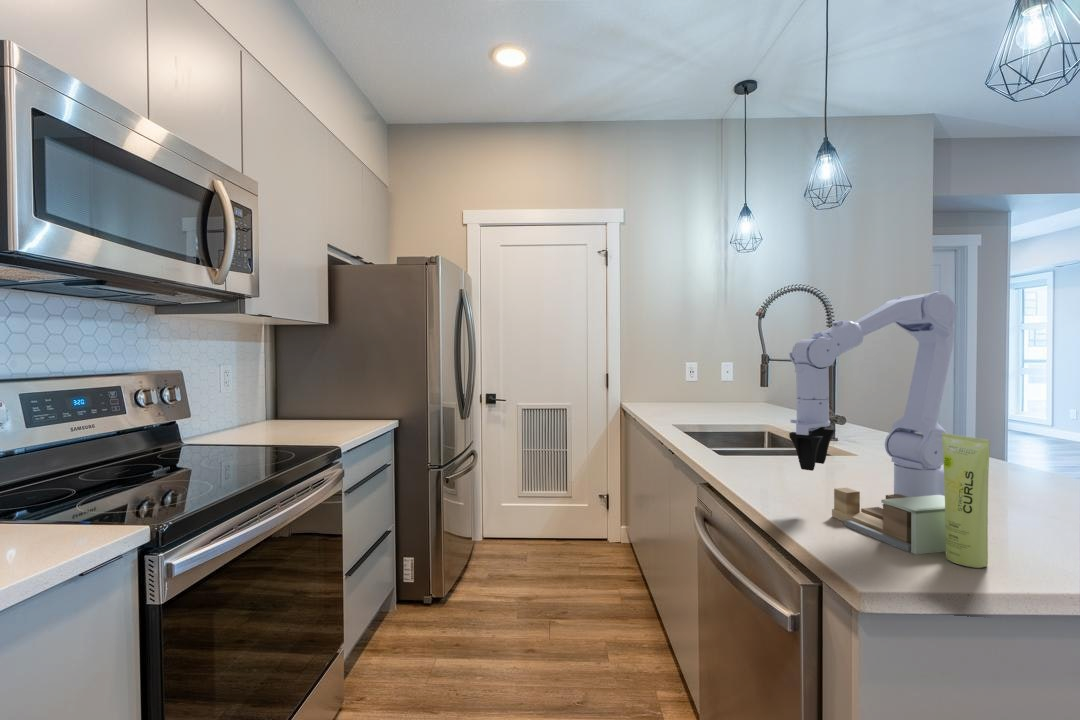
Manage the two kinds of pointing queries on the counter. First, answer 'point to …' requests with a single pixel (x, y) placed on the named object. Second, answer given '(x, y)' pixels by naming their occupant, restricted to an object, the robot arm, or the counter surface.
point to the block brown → (878, 511)
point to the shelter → (924, 521)
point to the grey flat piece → (878, 535)
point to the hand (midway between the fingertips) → (813, 466)
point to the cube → (897, 521)
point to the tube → (966, 499)
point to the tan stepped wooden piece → (856, 511)
